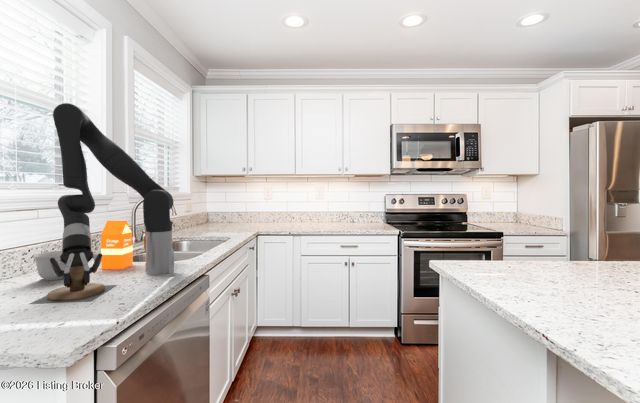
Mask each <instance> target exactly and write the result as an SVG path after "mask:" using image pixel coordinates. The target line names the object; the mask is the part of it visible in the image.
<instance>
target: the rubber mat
mask: <svg viewBox="0 0 640 403" xmlns="http://www.w3.org/2000/svg"><path fill="white" fill-rule="evenodd" d="M104 285H105V291H104V292H102V293H100V294H98V295H95V296H92V297H88V298H84V299H79V300H72V301H50V300H48V296H47V295H45V296H43V297H40V298H38V299H36V300H34V301H32V302H30V303H29V305H40V304H60V303H62V304H64V303H86V302H87V303H88V302H93V301H95V300H97V299H98V298H99V297H101V296H103V295H104V294H106V293H107V292H109V291H112V289H114V288H115V287H117V286H118V284H107V285H106V284H104Z"/></svg>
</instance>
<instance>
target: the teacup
mask: <svg viewBox="0 0 640 403" xmlns="http://www.w3.org/2000/svg"><path fill="white" fill-rule="evenodd" d="M61 254H62V250H52V251H44V252H39V253H35V254H33V255H32V257H33V258H34V259H35V262H36V268H37V269H36V270H37V273H38V275H39V277H40V278H41V279H43V280H45V281H57V280H58V281H59V280H61V279H62V280H63V279H64V277H62V276H61V277H57V275H56V274H55V272H54V270H53V268H52V267H51V265H50V258H55V259H56V258H59V257H60V256H61ZM59 267H60V269H61V270H63V271H65V268H66V264H64V263H63V262H62V261H60V264H59Z"/></svg>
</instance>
